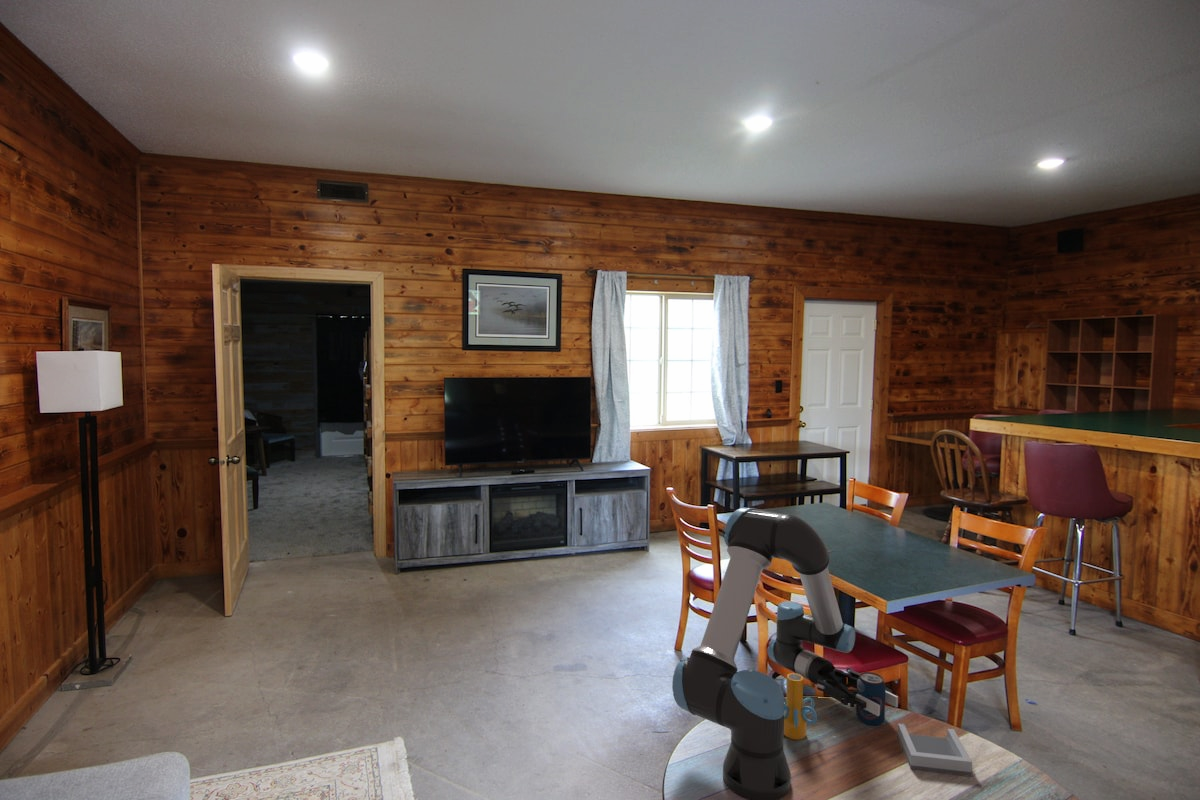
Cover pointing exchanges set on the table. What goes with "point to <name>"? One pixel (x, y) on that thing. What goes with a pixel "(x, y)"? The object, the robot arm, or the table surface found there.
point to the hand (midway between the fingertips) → (887, 706)
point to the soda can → (871, 698)
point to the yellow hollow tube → (796, 708)
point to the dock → (935, 752)
